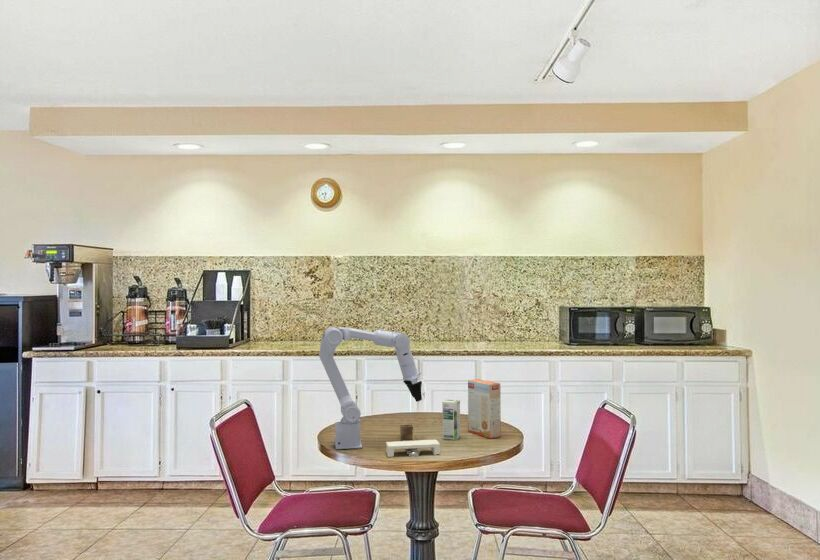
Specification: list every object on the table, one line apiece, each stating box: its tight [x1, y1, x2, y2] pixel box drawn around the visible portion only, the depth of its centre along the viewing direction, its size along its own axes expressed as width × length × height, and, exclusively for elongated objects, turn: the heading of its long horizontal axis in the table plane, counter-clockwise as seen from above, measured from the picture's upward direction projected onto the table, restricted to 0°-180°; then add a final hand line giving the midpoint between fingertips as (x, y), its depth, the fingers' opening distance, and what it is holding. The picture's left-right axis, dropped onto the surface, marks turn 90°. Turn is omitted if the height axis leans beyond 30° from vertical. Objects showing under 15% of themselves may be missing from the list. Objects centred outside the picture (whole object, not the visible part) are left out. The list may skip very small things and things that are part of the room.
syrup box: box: [441, 398, 461, 441], centre depth 214 cm, size 6×6×14 cm
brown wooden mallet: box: [399, 424, 418, 452], centre depth 202 cm, size 4×16×6 cm, turn 9°
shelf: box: [385, 439, 441, 458], centre depth 193 cm, size 18×6×4 cm, turn 99°
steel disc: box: [406, 449, 421, 457], centre depth 192 cm, size 4×4×1 cm
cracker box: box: [467, 378, 502, 439], centre depth 219 cm, size 14×6×21 cm, turn 31°
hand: (417, 398), depth 209 cm, fingers open, 7 cm apart
